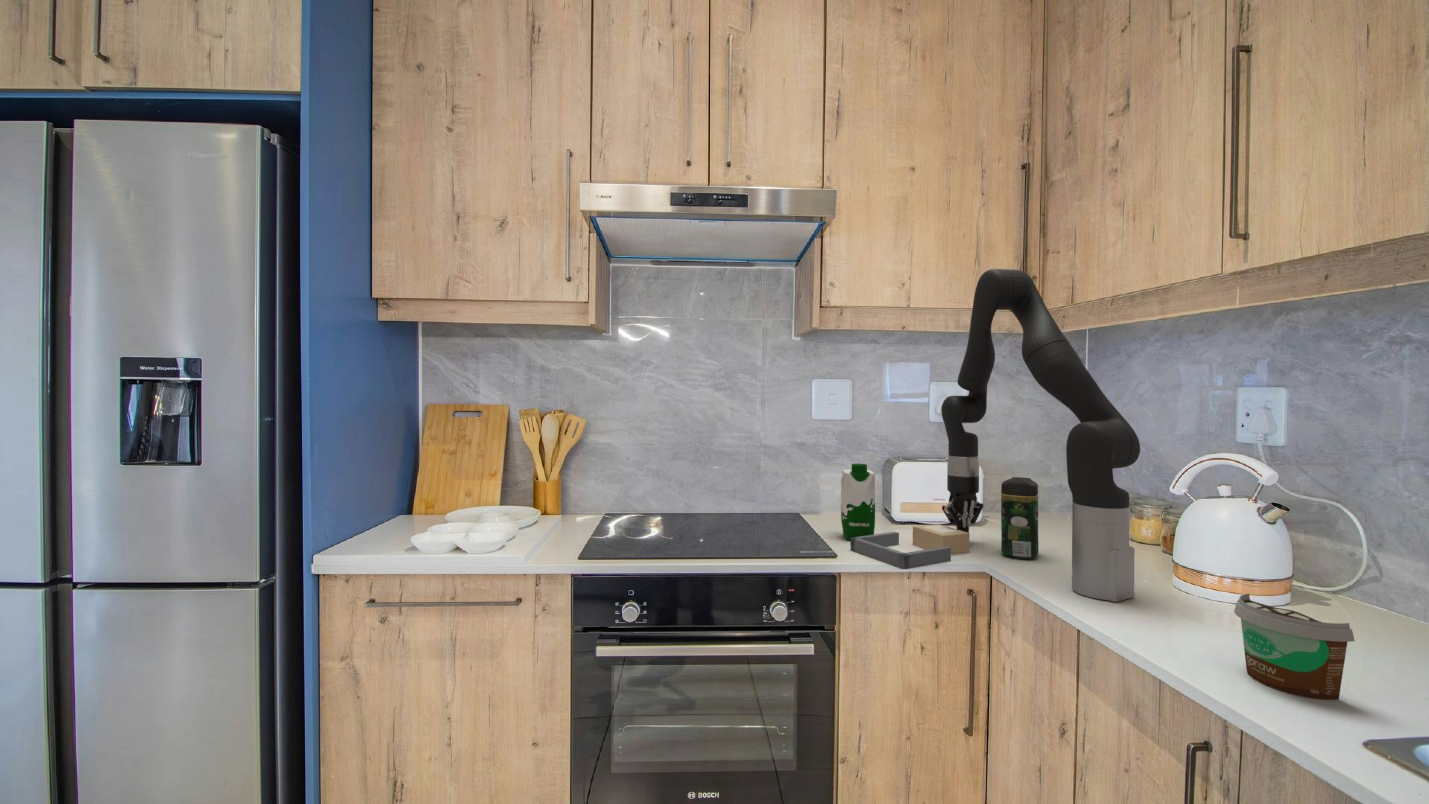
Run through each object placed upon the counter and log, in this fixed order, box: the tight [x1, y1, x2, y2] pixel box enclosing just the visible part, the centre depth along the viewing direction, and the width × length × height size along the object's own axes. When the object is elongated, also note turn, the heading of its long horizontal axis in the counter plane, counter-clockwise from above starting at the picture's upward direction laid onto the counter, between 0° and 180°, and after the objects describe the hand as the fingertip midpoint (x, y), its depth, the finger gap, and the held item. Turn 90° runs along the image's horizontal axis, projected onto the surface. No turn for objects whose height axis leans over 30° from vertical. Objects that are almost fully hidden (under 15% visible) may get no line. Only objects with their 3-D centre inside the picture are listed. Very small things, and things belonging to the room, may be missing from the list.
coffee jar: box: [1000, 476, 1039, 560], centre depth 141 cm, size 10×8×19 cm
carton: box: [912, 523, 970, 556], centre depth 147 cm, size 11×8×5 cm
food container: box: [1233, 593, 1355, 701], centre depth 78 cm, size 12×6×10 cm, turn 13°
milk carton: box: [840, 463, 876, 542], centre depth 158 cm, size 9×9×20 cm
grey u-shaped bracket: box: [850, 531, 952, 570], centre depth 141 cm, size 18×14×3 cm
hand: (962, 540), depth 151 cm, fingers closed
